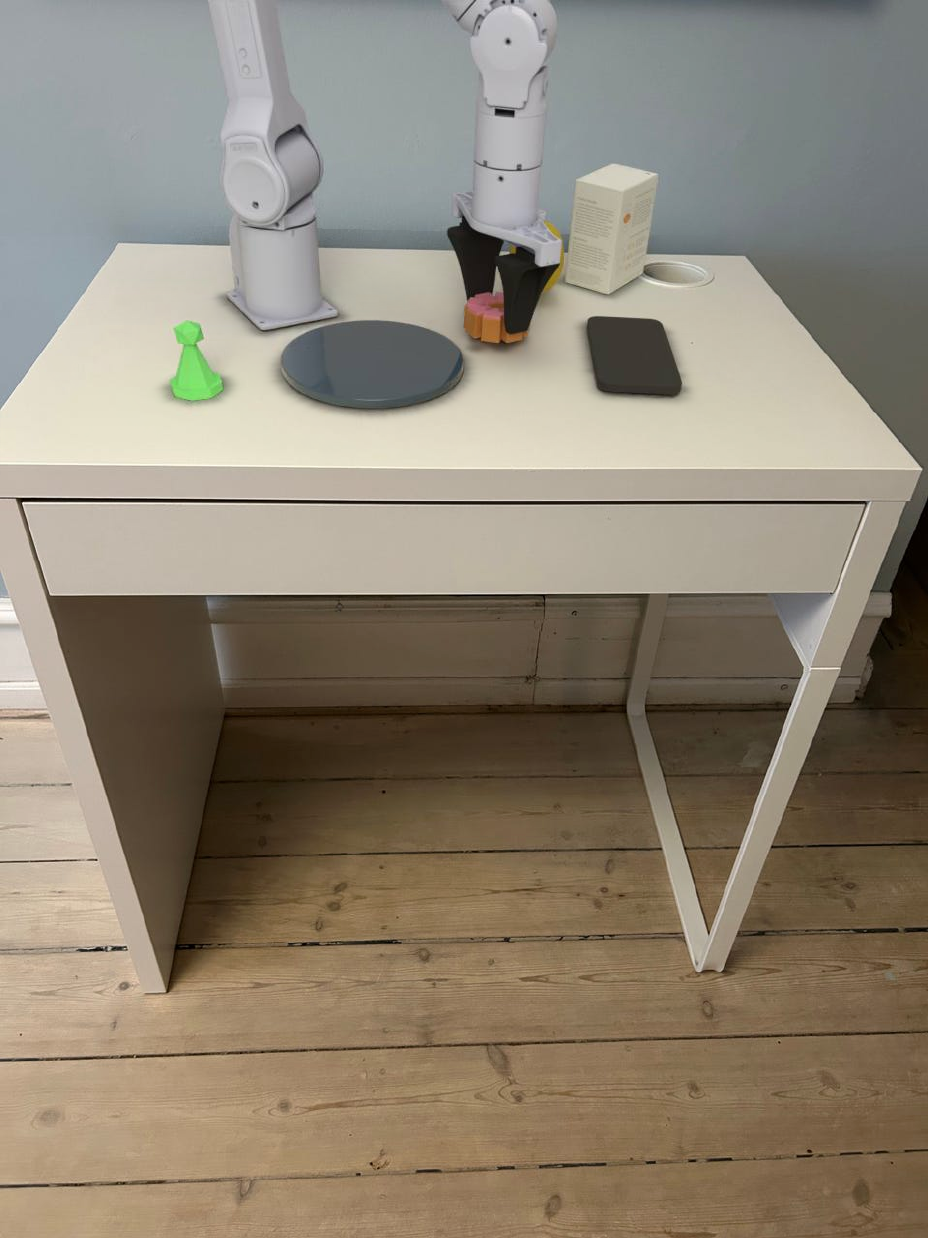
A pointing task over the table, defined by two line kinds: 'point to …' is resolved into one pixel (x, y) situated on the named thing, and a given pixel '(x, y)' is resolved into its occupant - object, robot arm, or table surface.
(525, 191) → the robot arm
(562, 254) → the lemon
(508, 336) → the donut
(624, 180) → the small box
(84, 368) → the table surface
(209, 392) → the game piece
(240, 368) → the table surface
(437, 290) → the table surface
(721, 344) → the table surface
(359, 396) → the plate
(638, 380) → the phone
